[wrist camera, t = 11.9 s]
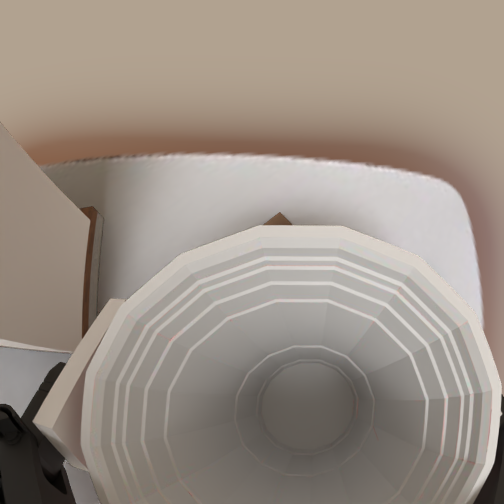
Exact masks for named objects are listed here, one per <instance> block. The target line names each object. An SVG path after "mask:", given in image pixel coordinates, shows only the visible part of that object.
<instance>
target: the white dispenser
mask: <svg viewBox="0 0 504 504" xmlns="http://www.w3.org/2000/svg"><path fill="white" fill-rule="evenodd" d="M103 222H104V218H103V217H102V216H101V215H100V214H99V213H98V212H97V211H96V209H95V208H94V207H93V206H92V207H86V208H81V209H79V208H78V207H77V206H76V205H75V204H74V203H73V202H72V201H71V200H70V199H69V198H68V197H67V196H66V195H65V194H64V193H63V192H62V191H61V190H60V189H59V188H58V187H57V186H56V185H55V184H54V183H53V182H52V180H51V179H50V178H49V177H48V176H47V175H46V174H45V173H44V172H43V171H42V170H41V169H40V167H39V166H38V165H37V164H36V163H35V162H34V161H33V160H32V159H31V157H30V156H29V155H28V154H27V153H26V152H25V151H24V149H23V148H22V147H21V146H20V145H19V144H18V142H17V141H16V140H15V139H14V138H13V137H12V135H11V134H10V133H9V132H8V131H7V129H6V128H5V127H4V126H3V125H2V123H1V122H0V347H7V348H15V349H24V350H33V351H43V352H54V353H68V354H73V353H74V351H75V349H76V348H77V346H78V345H79V343H80V342H81V340H82V339H83V337H84V336H85V334H86V333H87V331H88V330H89V328H90V327H91V325H92V324H93V322H94V321H95V320H96V318H97V290H98V273H99V260H100V249H101V239H102V230H103Z"/></svg>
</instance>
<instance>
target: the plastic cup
mask: <svg viewBox="0 0 504 504" xmlns="http://www.w3.org/2000/svg"><path fill="white" fill-rule="evenodd" d="M501 391H502V385H501V381H500V378H499V375H498V372H497V368H496V365H495V362H494V359H493V356H492V353H491V351H490V348H489V346H488V342H487V340H486V337H485V335H484V332H483V329H482V327H481V325H480V322H479V320H478V317H477V315H476V313H475V311H474V310H473V309H472V308H471V307H470V306H469V305H468V304H467V303H466V302H465V301H464V300H463V299H462V298H461V297H460V295H459V294H458V293H457V292H456V291H455V290H454V289H453V288H452V287H451V286H450V285H449V284H448V283H447V282H446V281H445V280H444V279H443V278H442V277H441V276H440V275H439V274H438V273H437V272H435V271H434V270H433V269H432V268H431V267H430V266H429V265H428V264H427V263H426V262H425V261H424V260H423V259H422V258H421V257H420V256H418V255H415V254H413V253H410V252H408V251H406V250H403V249H401V248H398V247H396V246H393V245H391V244H388V243H386V242H383V241H381V240H378V239H376V238H373V237H371V236H368V235H366V234H363V233H360V232H358V231H355V230H352V229H350V228H347V227H345V226H316V225H258V226H255V227H253V228H250V229H247V230H244V231H241V232H239V233H236V234H233V235H230V236H228V237H225V238H222V239H220V240H217V241H214V242H211V243H209V244H206V245H203V246H201V247H198V248H195V249H192V250H190V251H187V252H184V253H182V254H180V255H179V256H177V257H176V258H175V259H174V260H173V261H172V262H170V263H169V264H168V265H167V266H166V267H164V268H163V269H162V270H161V271H160V272H159V273H157V274H156V275H155V276H154V277H153V278H152V279H150V280H149V281H148V282H147V283H146V284H145V285H143V286H142V287H141V288H140V289H139V290H138V291H137V292H135V293H134V294H133V295H132V296H131V297H130V298H129V299H127V300H126V301H125V302H124V303H123V304H122V305H121V306H120V307H119V309H118V311H117V313H116V315H115V317H114V318H113V320H112V322H111V324H110V326H109V328H108V330H107V331H106V333H105V335H104V337H103V339H102V341H101V343H100V345H99V347H98V349H97V351H96V353H95V355H94V357H93V359H92V361H91V363H90V365H89V367H88V369H87V371H86V376H85V385H84V395H83V407H82V421H81V448H82V451H83V455H84V458H85V461H86V464H87V467H88V471H89V473H90V476H91V479H92V482H93V485H94V488H95V490H96V493H97V496H98V498H99V501H100V503H101V504H473V503H474V501H475V499H476V498H477V496H478V494H479V492H480V490H481V488H482V487H483V485H484V483H485V481H486V479H487V477H488V475H489V473H490V471H491V469H492V466H493V464H494V461H495V455H496V449H497V441H498V433H499V424H500V412H501Z"/></svg>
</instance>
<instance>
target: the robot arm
mask: <svg viewBox="0 0 504 504" xmlns="http://www.w3.org/2000/svg"><path fill="white" fill-rule="evenodd" d="M125 301H126V299H110V300H109V301H108V302H107V304H106V305H105V307H104V308H103V309H102V311H101V312H100V314H99V315H98V317H97V318H96V320H95V321H94V322H93V324H92V325H91V327H90V328H89V330H88V331H87V333H86V334H85V336H84V337H83V339H82V340H81V342H80V343H79V345H78V346H77V348H76V349H75V351H74V353H73V354H72V356H71V357H70V359H69V360H68V362H67V363H62V362H60V363H58V364H57V365H56V366H55V367H53V368H52V369H51V370H50V371H49V373H48V374H47V376H46V377H45V379H44V382H42V384H41V385H40V387H39V391H38V390H37V392H36V394H35V395H34V397H33V399H32V400H31V402H30V404H29V405H28V407H27V409H26V410H25V412H24V414H23V416H22V417H21V418H20V417H19V416H18V414H17V413H16V412H15V411H14V409H13V408H12V407H11V406H10V405H7V404H0V504H76V502H75V499H74V496H73V493H72V490H71V486H70V483H69V480H68V476H67V473H66V470H65V468H64V466H63V462H64V460H65V459H66V460H67V461H68V462H69V463H70V465H71V466H73V467H75V468H78V469H81V470H84V471H87V472H89V471H88V467H87V464H86V461H85V458H84V455H83V451H82V448H81V421H82V407H83V395H84V385H85V376H86V371H87V369H88V367H89V365H90V363H91V361H92V359H93V357H94V355H95V353H96V351H97V349H98V347H99V345H100V343H101V341H102V339H103V337H104V335H105V333H106V331H107V330H108V328H109V326H110V324H111V322H112V320H113V318H114V317H115V315H116V313H117V311H118V309H119V307H120V306H121V305H122V304H123V303H124V302H125ZM473 504H504V397H503V395H502V393H501V412H500V424H499V433H498V441H497V449H496V455H495V461H494V464H493V466H492V469H491V471H490V473H489V475H488V477H487V479H486V481H485V483H484V485H483V487H482V488H481V490H480V492H479V494H478V496H477V498H476V499H475V501H474V503H473Z"/></svg>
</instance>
